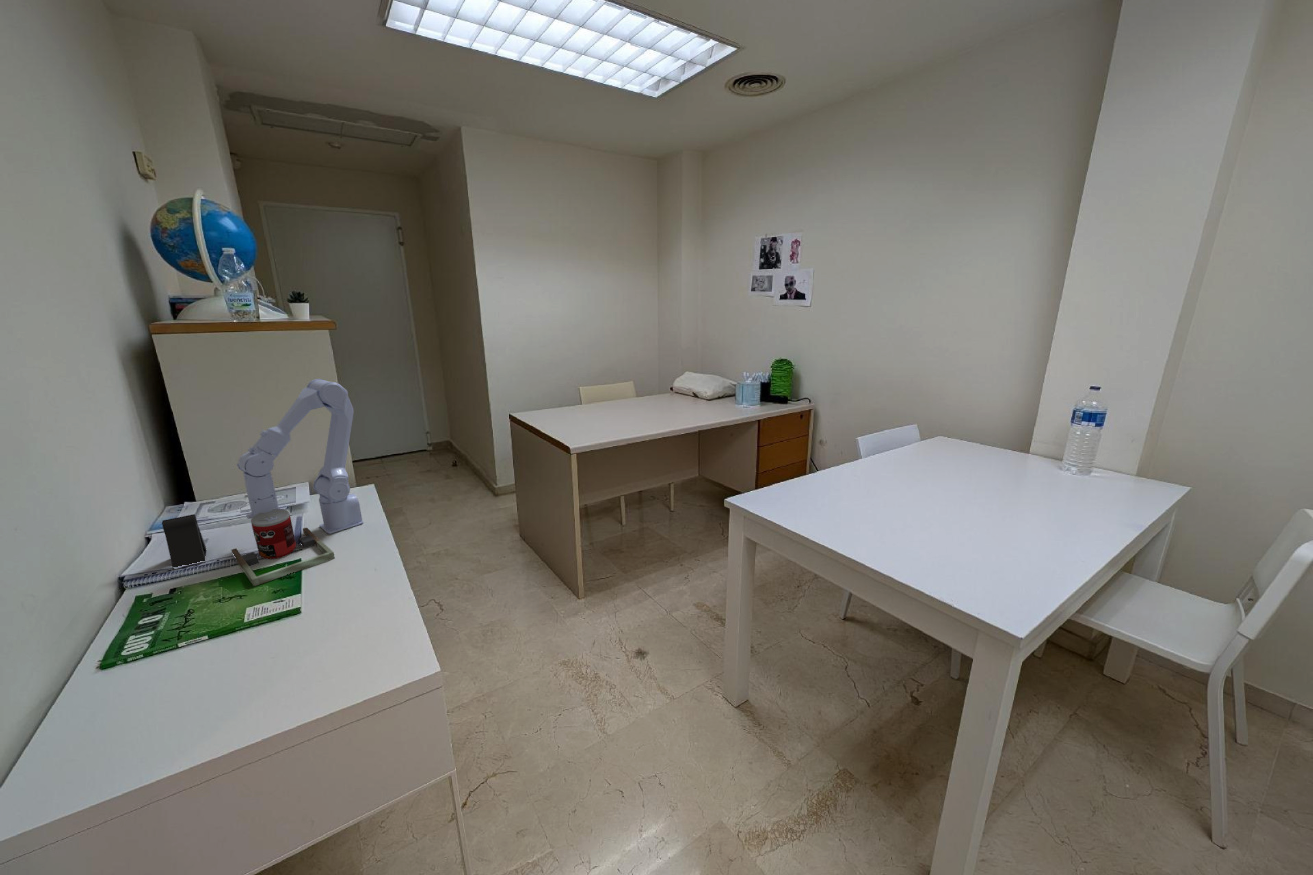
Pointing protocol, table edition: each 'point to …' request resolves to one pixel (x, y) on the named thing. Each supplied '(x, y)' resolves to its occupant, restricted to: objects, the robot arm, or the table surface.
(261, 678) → the table surface
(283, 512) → the canned food
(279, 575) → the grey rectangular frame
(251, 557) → the trap blocks
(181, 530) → the phone stand
